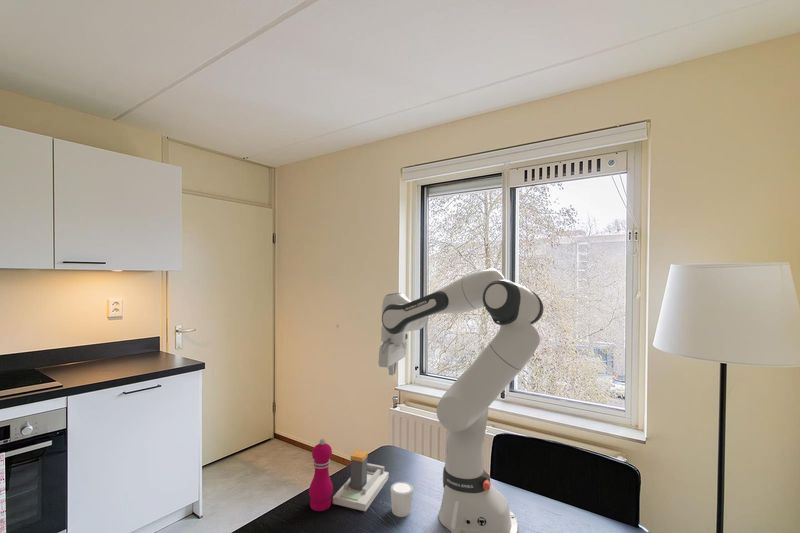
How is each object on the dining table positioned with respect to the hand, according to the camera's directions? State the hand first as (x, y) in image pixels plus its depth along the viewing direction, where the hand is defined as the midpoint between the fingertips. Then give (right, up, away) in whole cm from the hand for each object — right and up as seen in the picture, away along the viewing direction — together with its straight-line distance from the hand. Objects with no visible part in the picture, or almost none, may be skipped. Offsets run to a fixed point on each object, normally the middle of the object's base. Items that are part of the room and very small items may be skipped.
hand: (392, 374), depth 141 cm
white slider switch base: (-9, -34, -16) cm, 38 cm away
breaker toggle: (-11, -31, -18) cm, 37 cm away
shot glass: (+3, -34, -26) cm, 43 cm away
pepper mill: (-21, -33, -24) cm, 46 cm away
